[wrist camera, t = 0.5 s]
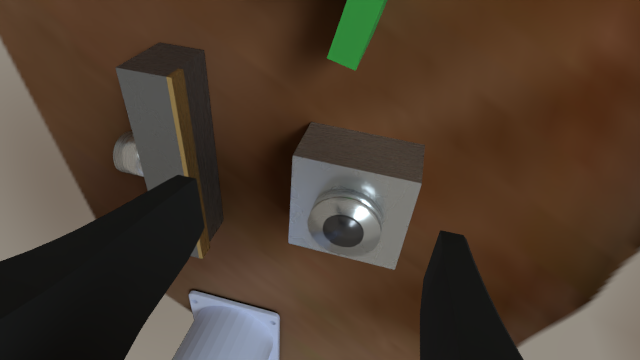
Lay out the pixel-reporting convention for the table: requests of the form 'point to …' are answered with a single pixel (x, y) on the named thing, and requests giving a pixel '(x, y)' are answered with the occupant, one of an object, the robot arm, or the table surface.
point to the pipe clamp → (355, 31)
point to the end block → (171, 126)
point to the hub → (353, 193)
